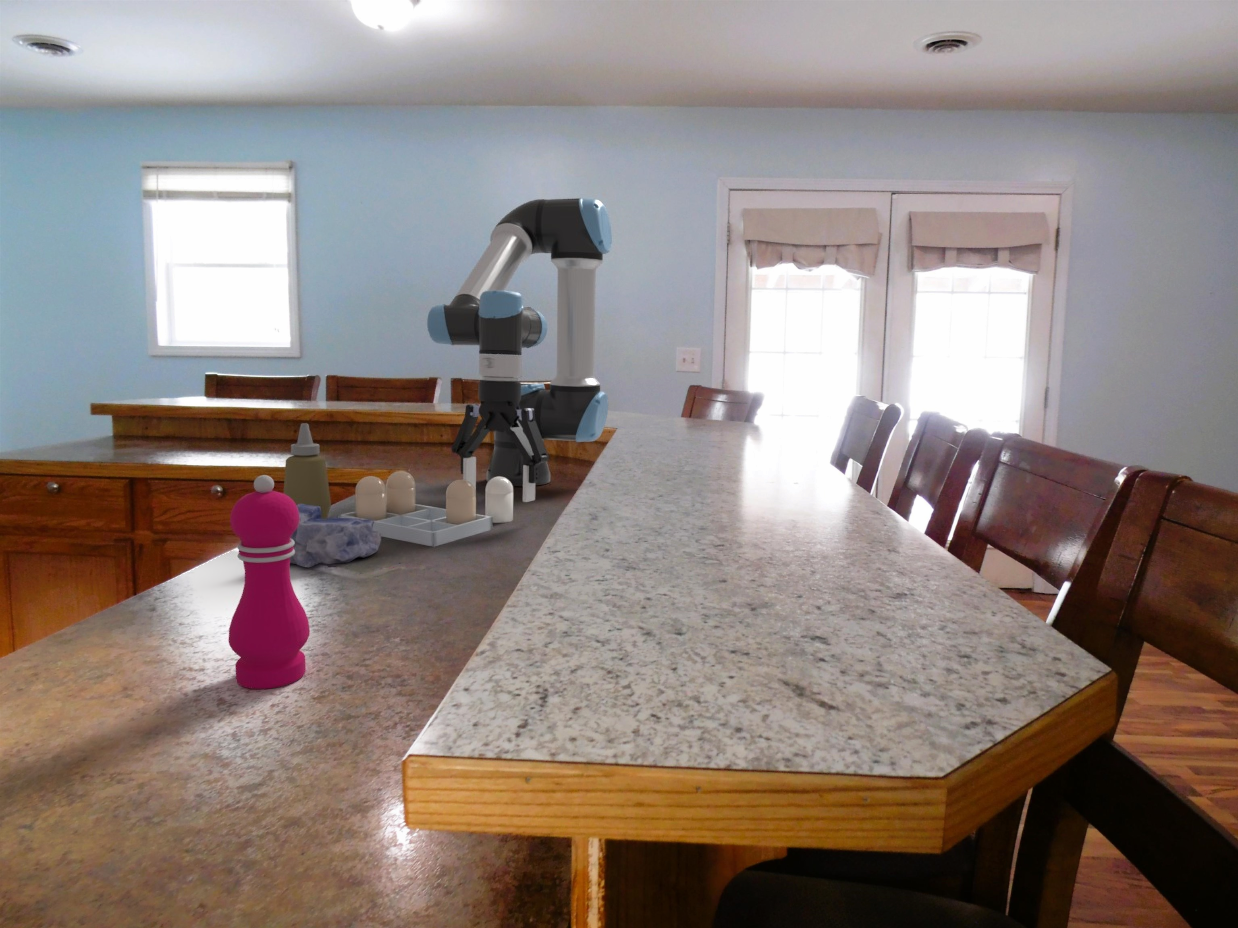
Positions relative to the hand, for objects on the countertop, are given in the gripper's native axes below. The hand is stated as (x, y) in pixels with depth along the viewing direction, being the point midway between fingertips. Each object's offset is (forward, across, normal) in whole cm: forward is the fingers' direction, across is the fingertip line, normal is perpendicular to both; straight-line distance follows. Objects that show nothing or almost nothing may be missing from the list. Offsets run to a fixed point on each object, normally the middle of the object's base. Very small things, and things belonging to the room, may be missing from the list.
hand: (498, 496), depth 144 cm
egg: (+5, 0, 0) cm, 5 cm away
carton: (+5, -7, -14) cm, 16 cm away
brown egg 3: (+4, 0, -10) cm, 11 cm away
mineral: (+6, -5, -34) cm, 35 cm away
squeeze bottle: (+6, -26, -20) cm, 34 cm away
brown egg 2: (+4, -14, -10) cm, 18 cm away
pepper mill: (+7, +23, -65) cm, 69 cm away
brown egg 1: (+4, -14, -17) cm, 23 cm away
